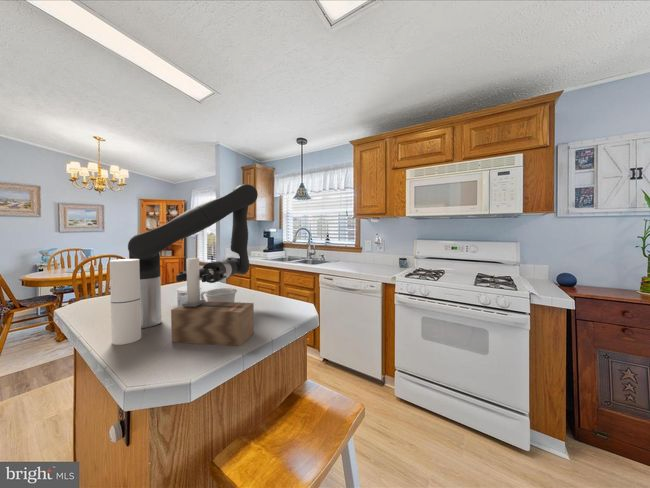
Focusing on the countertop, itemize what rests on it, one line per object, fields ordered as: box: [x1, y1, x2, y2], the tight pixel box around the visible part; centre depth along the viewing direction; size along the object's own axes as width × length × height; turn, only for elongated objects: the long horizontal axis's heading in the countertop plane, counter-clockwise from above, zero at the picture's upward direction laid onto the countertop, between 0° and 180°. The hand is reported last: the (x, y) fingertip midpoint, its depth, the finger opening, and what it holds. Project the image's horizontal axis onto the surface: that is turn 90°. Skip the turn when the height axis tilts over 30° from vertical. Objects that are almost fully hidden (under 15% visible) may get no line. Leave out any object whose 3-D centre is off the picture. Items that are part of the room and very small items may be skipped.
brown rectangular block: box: [170, 301, 255, 346], centre depth 80 cm, size 22×10×10 cm, turn 84°
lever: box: [181, 257, 205, 307], centre depth 80 cm, size 4×5×15 cm
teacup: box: [200, 287, 238, 302], centre depth 101 cm, size 12×15×10 cm
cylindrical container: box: [109, 258, 142, 346], centre depth 77 cm, size 7×7×25 cm
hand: (190, 278), depth 78 cm, fingers open, 8 cm apart
